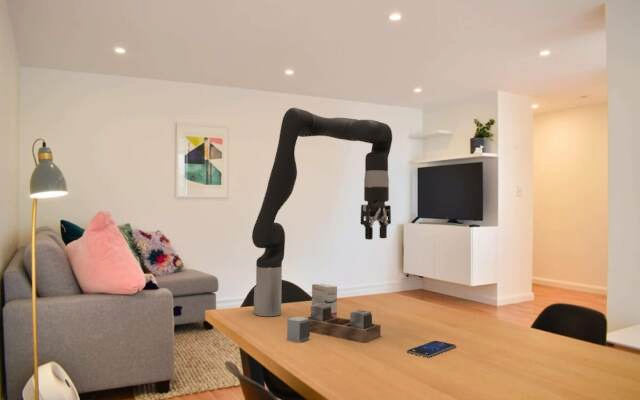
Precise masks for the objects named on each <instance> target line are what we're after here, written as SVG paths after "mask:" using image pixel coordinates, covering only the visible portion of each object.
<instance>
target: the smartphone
mask: <svg viewBox="0 0 640 400" xmlns="http://www.w3.org/2000/svg"><path fill="white" fill-rule="evenodd" d="M456 348H457V345H456V344H453V343H448V342H444V341H439V340H433V341H430V342H427V343H424V344H420V345H418V346H415V347H413V348H410V349H408V350H406V352H407V354H409V353H411V354H410V355H413V354H417V355H416V356H418V355H419V356H418V357H420V356H423V357H422V358H424V357H427V358H426V359H431V358H433V357H432V356H434V357H435V355H436V356H439V355H441V354H443V352H444V353H446V352H449V351H452V350H454V349H456ZM451 349H452V350H451ZM440 353H441V354H440ZM438 354H439V355H438ZM428 357H429V358H428ZM430 357H431V358H430Z"/></svg>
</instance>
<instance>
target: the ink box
mask: <svg viewBox="0 0 640 400" xmlns="http://www.w3.org/2000/svg"><path fill="white" fill-rule="evenodd" d="M316 304H325V305H331V316H333V317H337V315H338V311H337V310H338V309H337V307H338V306H337V305H338V286H337V285H331V284H325V283H312V284H311V306H312V305H316Z"/></svg>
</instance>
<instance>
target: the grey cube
mask: <svg viewBox="0 0 640 400" xmlns="http://www.w3.org/2000/svg"><path fill="white" fill-rule="evenodd" d="M286 323H287V324H286V325H287V327H286V328H287V329H286V330H287V331H286V334H287V335H286V340H287V341H290V342H291V341H292V342H296V343H301V342H304V341H308V340H309V339H310V336H311V334H310V321H309V318H306V317H303V316H297V315H296V316H293V317H290V318H287V321H286Z"/></svg>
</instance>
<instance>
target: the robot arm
mask: <svg viewBox="0 0 640 400" xmlns="http://www.w3.org/2000/svg"><path fill="white" fill-rule="evenodd" d="M280 125H281V126H280V132H279V136H278V137H279V138H278V143H277V147H276V151H275V157H274V161H273V164H272V165H273V166H272V168H271V172H270V174H269V179H268V182H267V187H266V190H265V194H264V197H263V201H262V204H261V206H260V207H261V208H260V210H259V212H258V215H257V217H256V220H255V224H254V226H253V229H252V232H251V233H252V234H251V240H252V243H253V245H254V246H255V247H256V248H258V249H264V252H263V254H261V255H260V256H259V257H258V258H257V259H256V262H255V263H256V264H255V267H256V269H255V270H256V271H255V273H256V274H255V275H256V278H255V281H256V282H255V287H253V314H255V315H257V316H260V317H276V316H280V315H281V314H282V289H283V288H282V287H283V286H282V284H283V283H282V279H283V277H282V276H283V275H282V273H283V272H282V271H283V269H282V267H283V260H284V258H285V247H286V245H285V244H286V233H285V229H284V226H282V224H281V223H280V222H279V223H278V222H275V220H276V217H277V216H278V215H277V214H278V212H279V211H280V209H282V207H283V205H284V204H285V203H286V202H287V201H288V200H289V198H290V197H291V195H292V193H293V191H294V187H295V185H296V180H297V177H298V168H297V163H296V156H295V151H296V145H297V141H298V137H300V138H304V137H329V138H333V139H338V140H343V141H349V142H362V143H367V144H371V151H369V152H368V153H367V154H365V157H364V158H365V160H364V162H365V163H364V165H365V166H364V167H365V169H364V171H365V172H364V180H363V186H364V187H363V190H364V191H363V192H364V193H363V195H364V196H363V200H364V202H367V204H361V205H360V225H363V227H364V237H365V240H369V241H370V240H373V238H374V237H373V233H374V232H373V231H374V230H373V225H374V222H376V221H377V222H378V224H379V238H380V239H387V237H388V236H387V235H388V234H387V233H388V232H387V230H388V226H389V225H391V223H392V214H391V213H392V210H391V208H392V207H391V205H390V204H385V203H386V202H389V199H390V196H389V194H390V193H389V192H390V189H389V188H390V185H389V183H390V179H389V155H390V152H391V147H392V144H393V133H392V132H393V131H392V129H391V127H390V126H389V125H388V124H387V123H384V122H381V121H378V120H374V119H357V118H349V117H324V116H319V115H317V114H314V113H311V112H310V111H308V110H305V109H301V108H297V107H290V108H289V109H288V110H286V111H285V113H284V115H283V117H282V120H281V124H280Z"/></svg>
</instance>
